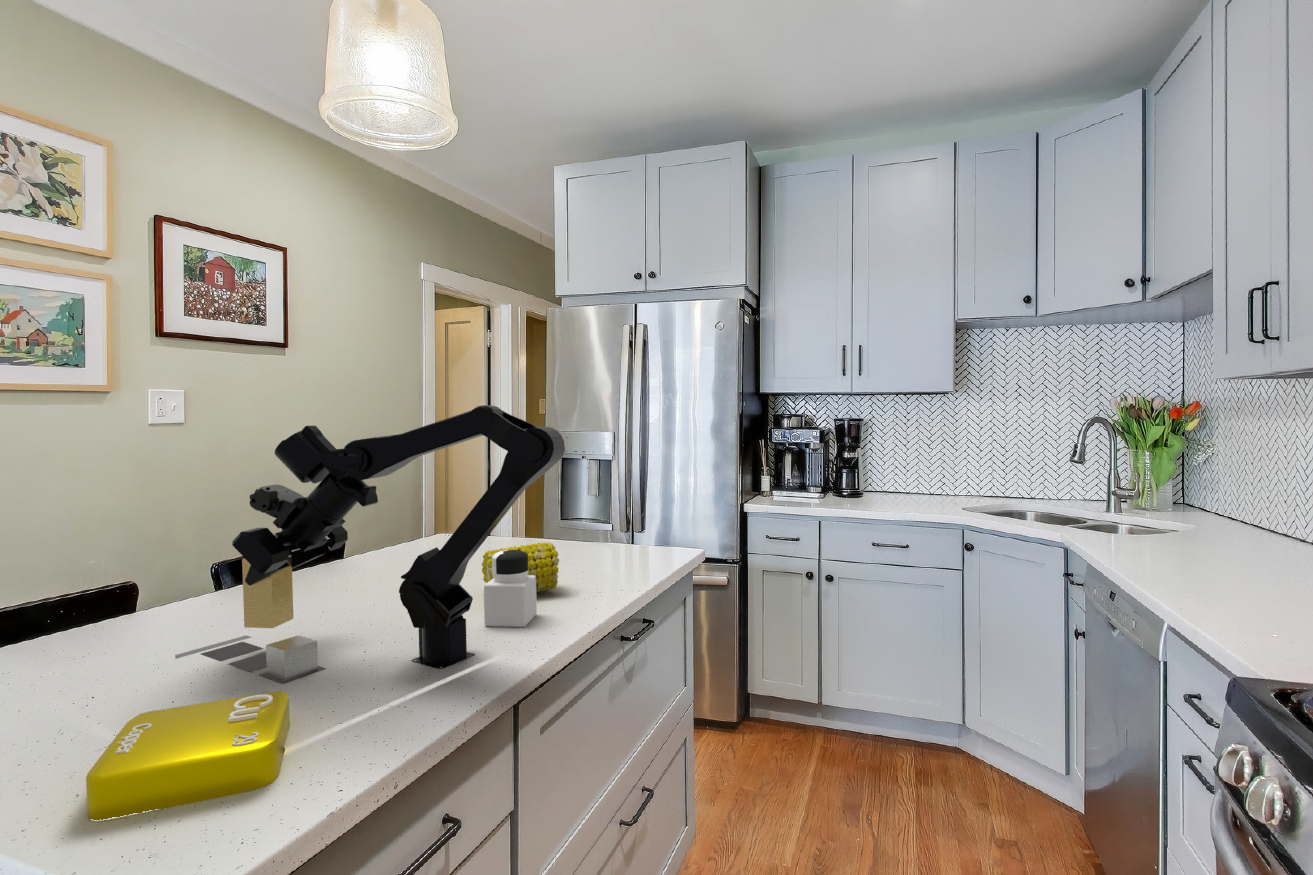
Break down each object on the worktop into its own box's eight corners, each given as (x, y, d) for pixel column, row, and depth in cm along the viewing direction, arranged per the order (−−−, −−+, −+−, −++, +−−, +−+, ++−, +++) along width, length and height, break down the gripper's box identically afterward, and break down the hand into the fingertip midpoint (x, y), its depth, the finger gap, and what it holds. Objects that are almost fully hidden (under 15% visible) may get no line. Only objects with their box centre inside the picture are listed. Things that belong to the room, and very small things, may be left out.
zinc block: (317, 669, 91) (316, 640, 91) (285, 680, 87) (284, 650, 87) (299, 663, 94) (298, 635, 94) (266, 673, 90) (265, 644, 90)
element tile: (133, 752, 71) (132, 708, 71) (291, 724, 77) (290, 683, 77) (79, 831, 58) (77, 777, 57) (276, 789, 64) (275, 740, 63)
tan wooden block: (293, 618, 100) (291, 553, 100) (273, 628, 96) (270, 559, 95) (265, 617, 101) (263, 552, 100) (244, 627, 96) (242, 559, 96)
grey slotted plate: (343, 669, 93) (343, 664, 93) (271, 695, 84) (271, 690, 84) (246, 638, 106) (246, 634, 106) (175, 658, 98) (175, 654, 98)
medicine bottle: (537, 614, 117) (536, 547, 117) (525, 627, 110) (524, 556, 110) (498, 613, 118) (496, 547, 118) (483, 626, 111) (482, 555, 110)
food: (478, 605, 123) (476, 552, 123) (483, 589, 135) (482, 540, 134) (560, 601, 126) (559, 548, 125) (558, 585, 137) (558, 537, 137)
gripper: (328, 461, 106) (266, 529, 108) (243, 472, 88) (170, 553, 89) (375, 511, 105) (313, 578, 107) (300, 531, 87) (225, 612, 89)
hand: (259, 578), depth 98 cm, fingers closed on tan wooden block, 4 cm apart
